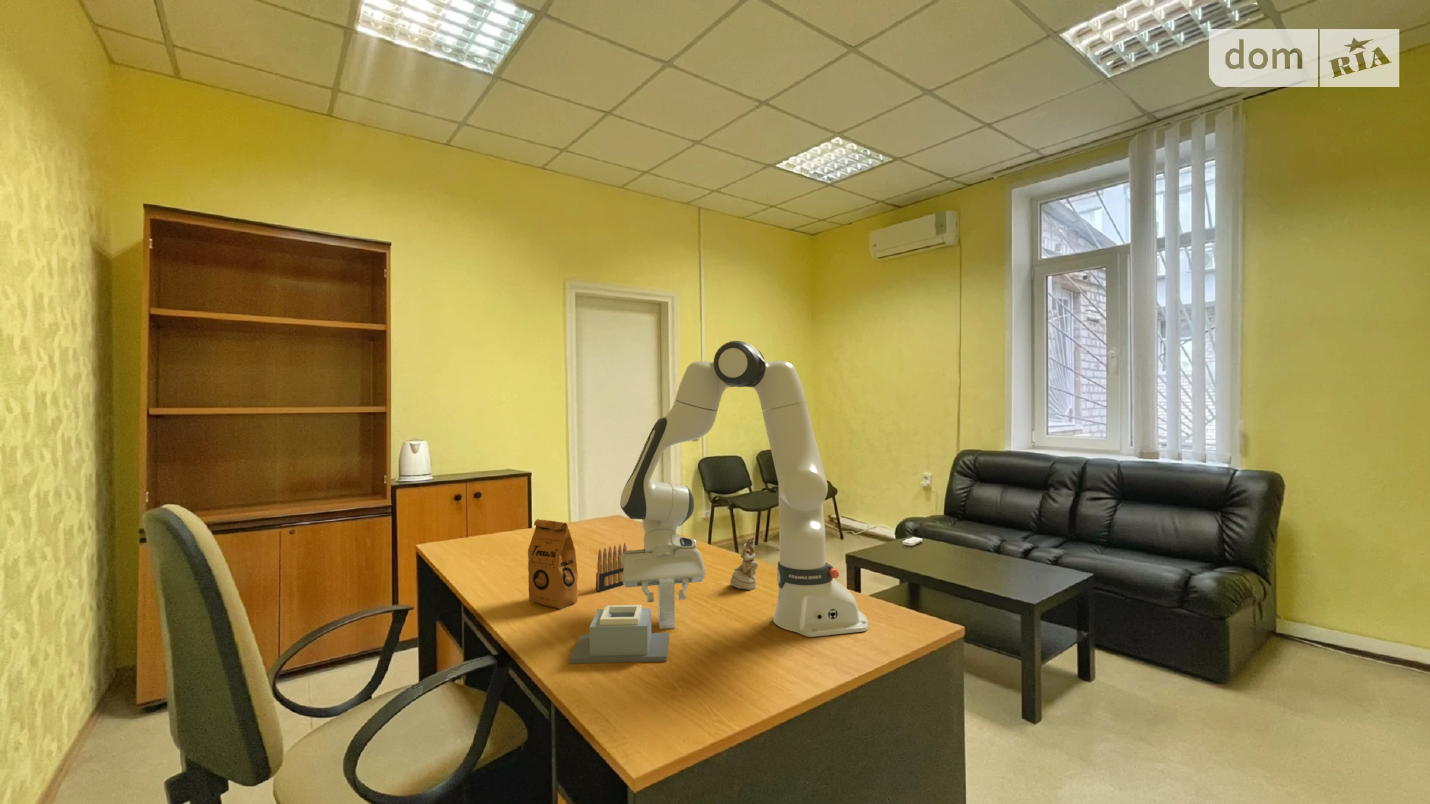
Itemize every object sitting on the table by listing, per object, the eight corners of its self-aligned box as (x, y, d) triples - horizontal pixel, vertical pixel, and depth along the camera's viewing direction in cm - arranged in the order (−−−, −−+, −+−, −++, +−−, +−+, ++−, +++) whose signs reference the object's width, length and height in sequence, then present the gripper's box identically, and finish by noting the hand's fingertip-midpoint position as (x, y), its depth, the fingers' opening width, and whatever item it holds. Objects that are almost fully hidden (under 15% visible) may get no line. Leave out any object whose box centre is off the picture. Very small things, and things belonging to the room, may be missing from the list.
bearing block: (669, 636, 129) (669, 606, 129) (666, 661, 117) (666, 627, 117) (581, 638, 129) (580, 607, 129) (569, 663, 117) (568, 629, 117)
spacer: (641, 610, 127) (641, 604, 127) (638, 624, 119) (638, 618, 119) (606, 610, 127) (605, 605, 127) (599, 625, 119) (599, 619, 119)
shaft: (672, 622, 138) (672, 577, 138) (674, 628, 134) (674, 581, 134) (658, 623, 137) (658, 578, 137) (660, 629, 134) (659, 582, 134)
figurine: (758, 595, 162) (773, 545, 162) (736, 592, 159) (751, 541, 159) (746, 584, 168) (761, 536, 168) (725, 581, 165) (740, 532, 165)
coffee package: (556, 613, 144) (555, 526, 144) (523, 604, 151) (522, 521, 151) (584, 601, 153) (583, 519, 153) (551, 593, 159) (551, 515, 159)
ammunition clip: (599, 592, 160) (599, 549, 160) (595, 590, 161) (595, 548, 161) (629, 583, 167) (629, 542, 167) (625, 581, 169) (625, 541, 169)
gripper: (620, 544, 140) (622, 597, 131) (701, 539, 144) (709, 590, 135) (620, 557, 145) (622, 609, 135) (699, 552, 149) (706, 602, 139)
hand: (666, 599), depth 135 cm, fingers open, 6 cm apart
